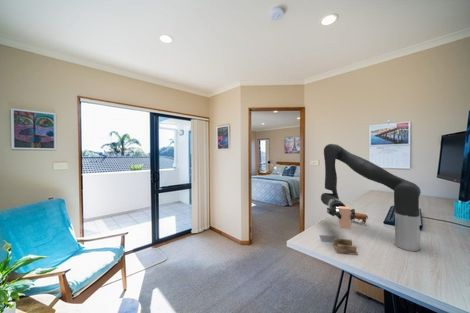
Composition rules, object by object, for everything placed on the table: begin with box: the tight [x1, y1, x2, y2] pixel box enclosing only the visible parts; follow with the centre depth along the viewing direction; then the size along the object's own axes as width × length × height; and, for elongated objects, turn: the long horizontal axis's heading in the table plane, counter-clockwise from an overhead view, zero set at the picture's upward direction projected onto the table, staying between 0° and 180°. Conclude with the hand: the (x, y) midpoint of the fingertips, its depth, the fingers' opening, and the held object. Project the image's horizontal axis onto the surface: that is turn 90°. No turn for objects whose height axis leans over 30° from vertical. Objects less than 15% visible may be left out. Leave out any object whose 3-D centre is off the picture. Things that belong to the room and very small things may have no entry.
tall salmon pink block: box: [338, 206, 352, 230], centre depth 94 cm, size 4×4×10 cm
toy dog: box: [351, 211, 369, 226], centre depth 128 cm, size 4×13×8 cm, turn 38°
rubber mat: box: [319, 234, 336, 244], centre depth 106 cm, size 8×8×1 cm
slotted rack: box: [332, 238, 359, 256], centre depth 95 cm, size 9×8×4 cm
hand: (346, 217), depth 91 cm, fingers closed on tall salmon pink block, 4 cm apart
